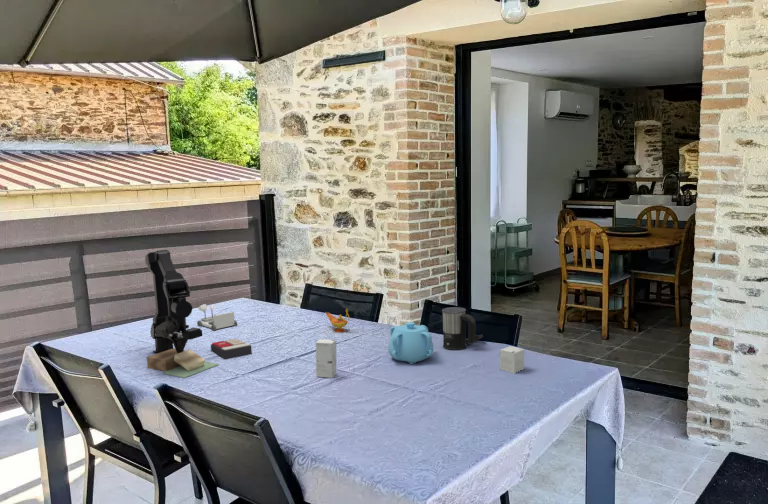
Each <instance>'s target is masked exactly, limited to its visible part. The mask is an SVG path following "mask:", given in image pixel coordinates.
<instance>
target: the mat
mask: <svg viewBox="0 0 768 504" xmlns="http://www.w3.org/2000/svg"><path fill="white" fill-rule="evenodd" d="M219 365H220V363H215V362H211V361H206V360H205V363H204V366H201V367H199V368H196V369H194V370H191V371H188V370H187V369H185V368H184V367H182V366H179V367H176V368H174V369H171V370H168V371H162V374H163V375H167V376H173V377H178V378H182V379H186V378H189V377H191V376H193V375H194V376H195V375H196V374H199V373H203V372H204V371H207V370H210V369H212V368H214V367H218V366H219Z"/></svg>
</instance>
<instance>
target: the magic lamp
mask: <svg viewBox="0 0 768 504" xmlns="http://www.w3.org/2000/svg"><path fill="white" fill-rule="evenodd" d="M345 312H346V314H345V318H344V317H343V315H342V314H339V316H338V317H335V316H334V315H332V314H331V313H330V312H328V311H325V312H324V313H325V315H326V316H327V318H328V320H329V322H330V323H331V324H330V325H332V326H333V327H335V328H336V329H334V330H333V332H334V331H335V332H334V333H337V332H341V333H344V332H343V331H345V332H346V330H345V329H344V328H347V324H348V322H349V321H350V315H349V308H345ZM347 317H348V319H347ZM346 319H347V320H346Z"/></svg>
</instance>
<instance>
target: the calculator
mask: <svg viewBox="0 0 768 504" xmlns="http://www.w3.org/2000/svg"><path fill="white" fill-rule="evenodd" d="M210 350H211V352H212V353H214V354H215V355H216V356H219V357H220V358H221V359H223V360H229V359H234V358H239V357H240V358H241V357H245V356H249V355H250V356H251V355H252V354H253V352H252V345H251V344H249V343H246V342H245V341H243V340H240V339H238V338H230V339H226V340H222V341H215V342H211V344H210Z"/></svg>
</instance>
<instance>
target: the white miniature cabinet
mask: <svg viewBox="0 0 768 504" xmlns="http://www.w3.org/2000/svg"><path fill="white" fill-rule="evenodd" d="M315 363H316V364H315V369H316V370H315V375H316V377H319V378H327V379H330V378H331V379H333V378H334V377H335V376H336V375H337V340H336V339H323V338H320V339H319V340H317V341H316V342H315Z"/></svg>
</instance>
